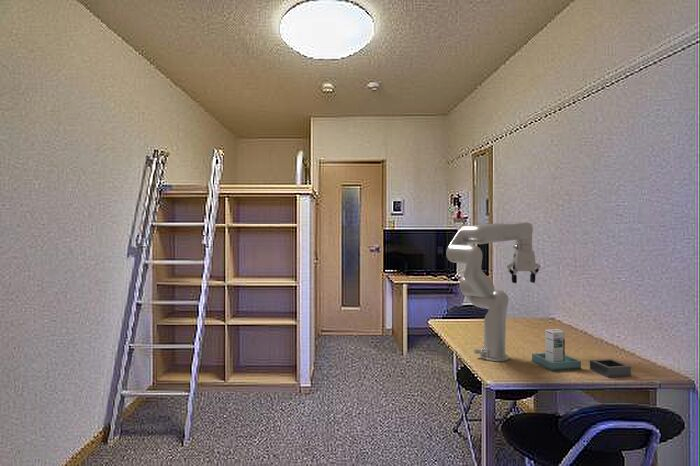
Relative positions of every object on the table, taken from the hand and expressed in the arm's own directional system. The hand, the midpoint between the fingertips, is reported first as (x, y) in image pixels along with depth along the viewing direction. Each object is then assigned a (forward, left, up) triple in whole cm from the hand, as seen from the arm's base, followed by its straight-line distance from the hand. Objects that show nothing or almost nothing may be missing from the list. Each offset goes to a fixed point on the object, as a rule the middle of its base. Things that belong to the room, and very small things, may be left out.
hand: (523, 282), depth 222 cm
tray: (+1, -24, -33) cm, 41 cm away
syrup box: (+1, -24, -33) cm, 41 cm away
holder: (+17, -37, -33) cm, 53 cm away
